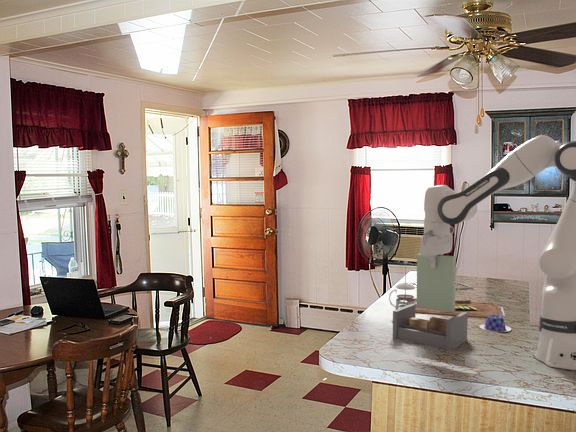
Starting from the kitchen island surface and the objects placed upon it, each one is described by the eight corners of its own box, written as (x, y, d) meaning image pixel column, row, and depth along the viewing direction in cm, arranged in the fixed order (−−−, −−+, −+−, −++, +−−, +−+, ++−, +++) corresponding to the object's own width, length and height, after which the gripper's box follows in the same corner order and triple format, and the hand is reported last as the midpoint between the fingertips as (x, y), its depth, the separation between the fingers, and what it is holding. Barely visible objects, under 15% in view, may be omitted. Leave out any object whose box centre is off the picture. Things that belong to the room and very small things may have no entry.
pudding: (487, 334, 212) (488, 321, 212) (474, 325, 224) (474, 313, 224) (517, 333, 213) (517, 320, 213) (502, 325, 225) (502, 312, 225)
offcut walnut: (450, 342, 196) (451, 320, 196) (447, 343, 194) (448, 321, 194) (432, 338, 201) (432, 316, 200) (429, 339, 199) (429, 318, 198)
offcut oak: (429, 337, 201) (430, 320, 201) (426, 339, 200) (427, 321, 199) (412, 334, 206) (412, 317, 205) (409, 335, 204) (409, 318, 204)
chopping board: (398, 313, 246) (398, 306, 246) (404, 300, 272) (404, 294, 271) (506, 320, 233) (506, 313, 233) (501, 306, 258) (502, 300, 258)
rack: (467, 343, 199) (467, 312, 198) (450, 354, 187) (450, 321, 187) (411, 332, 213) (412, 303, 212) (392, 342, 202) (392, 311, 201)
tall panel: (455, 311, 199) (455, 256, 198) (452, 312, 197) (453, 257, 196) (419, 305, 208) (419, 253, 207) (416, 306, 206) (417, 254, 205)
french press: (417, 322, 229) (418, 262, 227) (388, 320, 231) (389, 261, 229) (416, 316, 238) (417, 259, 237) (389, 315, 241) (389, 258, 239)
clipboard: (410, 283, 307) (457, 280, 315) (410, 286, 307) (457, 283, 315) (427, 290, 289) (477, 286, 297) (427, 293, 289) (477, 289, 297)
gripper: (432, 232, 191) (431, 271, 191) (455, 227, 206) (455, 264, 207) (415, 231, 195) (415, 270, 196) (439, 227, 210) (439, 262, 211)
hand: (436, 267), depth 201 cm, fingers closed on tall panel, 2 cm apart
